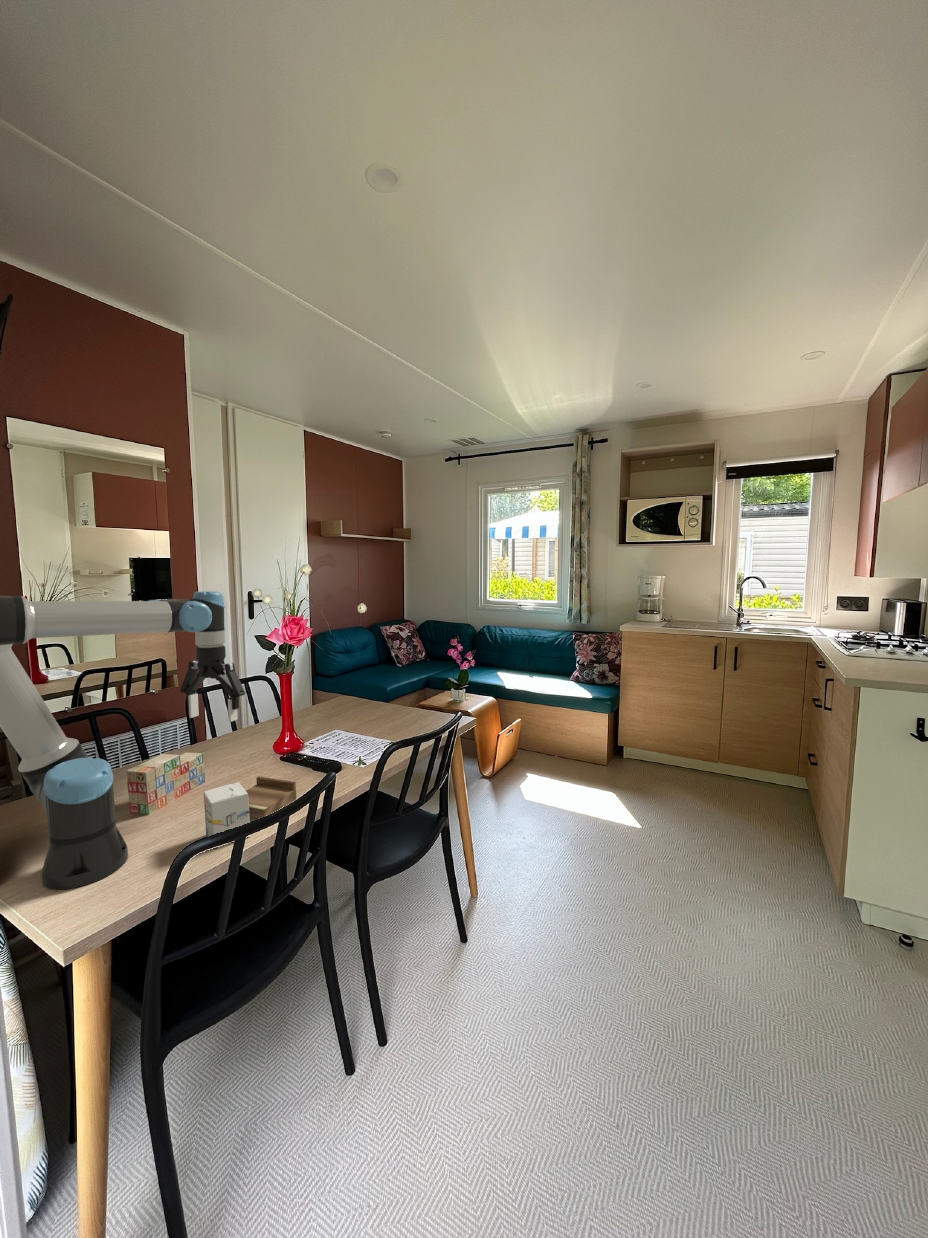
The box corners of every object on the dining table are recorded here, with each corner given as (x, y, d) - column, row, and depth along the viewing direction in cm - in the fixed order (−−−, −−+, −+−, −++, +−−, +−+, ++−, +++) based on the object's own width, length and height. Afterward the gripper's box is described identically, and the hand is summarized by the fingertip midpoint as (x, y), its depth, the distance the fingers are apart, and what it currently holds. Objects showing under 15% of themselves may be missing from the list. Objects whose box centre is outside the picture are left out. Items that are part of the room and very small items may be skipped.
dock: (264, 820, 128) (264, 802, 128) (225, 813, 132) (224, 795, 132) (296, 798, 141) (295, 782, 140) (259, 792, 145) (258, 776, 144)
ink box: (205, 835, 121) (202, 790, 120) (241, 824, 127) (238, 780, 126) (213, 850, 115) (210, 803, 114) (251, 837, 120) (248, 792, 119)
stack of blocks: (188, 780, 154) (185, 742, 153) (205, 782, 152) (203, 744, 151) (129, 813, 133) (125, 770, 132) (148, 815, 132) (145, 771, 130)
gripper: (256, 645, 139) (258, 718, 141) (185, 642, 145) (188, 711, 147) (238, 649, 132) (240, 725, 133) (164, 645, 138) (167, 718, 140)
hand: (213, 718), depth 140 cm, fingers open, 13 cm apart
